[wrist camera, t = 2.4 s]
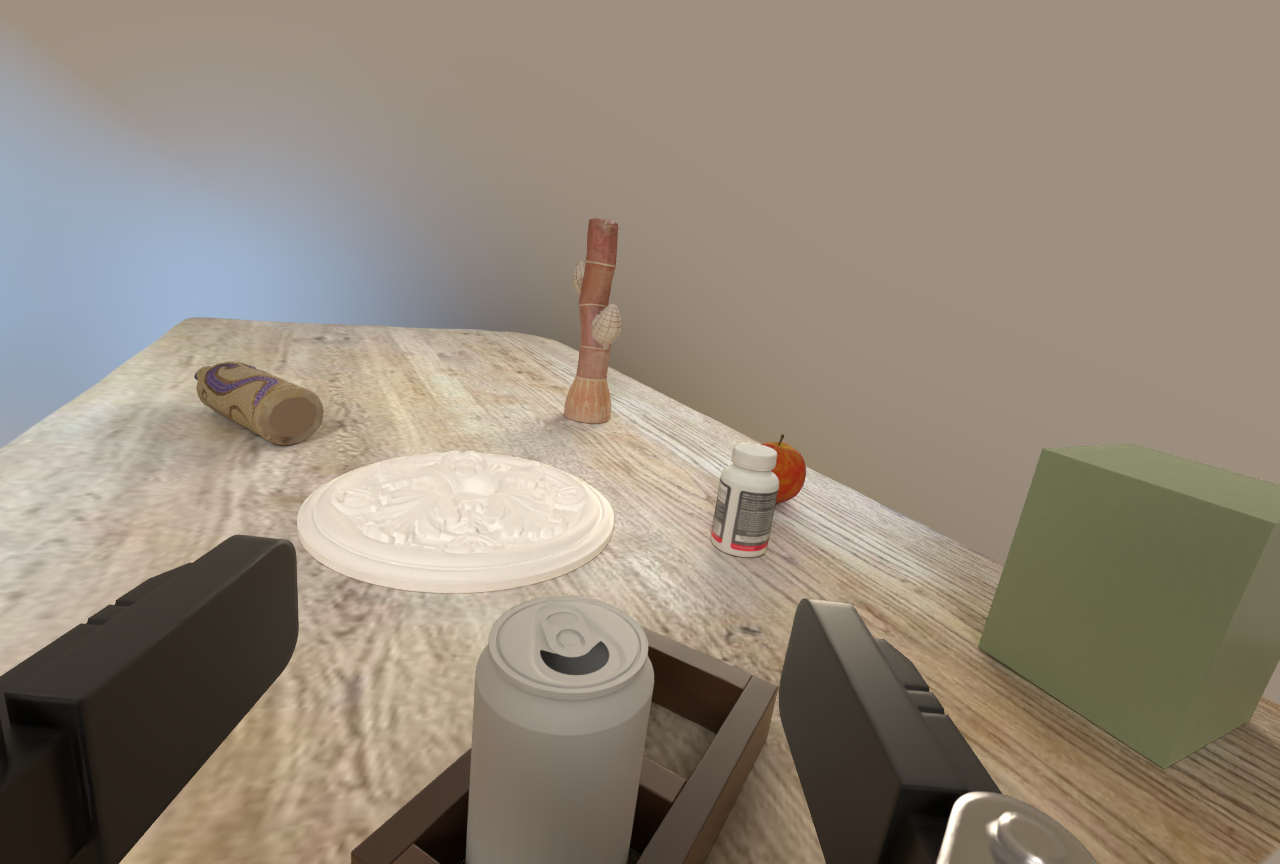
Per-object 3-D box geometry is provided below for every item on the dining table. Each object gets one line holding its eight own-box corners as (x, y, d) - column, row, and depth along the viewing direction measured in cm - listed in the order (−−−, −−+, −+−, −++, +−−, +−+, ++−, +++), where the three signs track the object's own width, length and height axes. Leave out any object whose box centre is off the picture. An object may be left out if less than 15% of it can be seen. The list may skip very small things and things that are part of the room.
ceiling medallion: (458, 445, 75) (460, 421, 74) (660, 508, 64) (664, 481, 63) (222, 517, 51) (219, 482, 50) (481, 640, 39) (484, 597, 38)
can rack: (767, 737, 34) (778, 686, 33) (572, 1126, 18) (583, 1048, 17) (615, 664, 39) (621, 616, 38) (351, 922, 23) (350, 851, 22)
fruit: (776, 517, 65) (790, 447, 63) (727, 494, 70) (738, 429, 68) (810, 505, 70) (824, 440, 68) (762, 485, 75) (774, 423, 73)
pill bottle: (774, 545, 58) (793, 450, 56) (754, 565, 54) (773, 463, 51) (723, 527, 61) (739, 436, 58) (700, 545, 57) (716, 447, 54)
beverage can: (476, 1007, 21) (495, 717, 17) (454, 839, 26) (465, 596, 23) (645, 942, 23) (691, 680, 20) (593, 802, 29) (621, 579, 25)
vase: (616, 425, 93) (640, 221, 85) (571, 424, 90) (590, 214, 82) (596, 407, 102) (615, 222, 94) (554, 406, 100) (570, 215, 91)
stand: (1066, 621, 51) (1131, 443, 47) (1249, 721, 41) (1354, 505, 37) (977, 647, 46) (1042, 448, 41) (1163, 769, 36) (1275, 523, 31)
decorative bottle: (329, 440, 71) (327, 385, 69) (259, 452, 65) (255, 392, 63) (237, 391, 85) (234, 345, 84) (173, 397, 80) (168, 347, 78)
